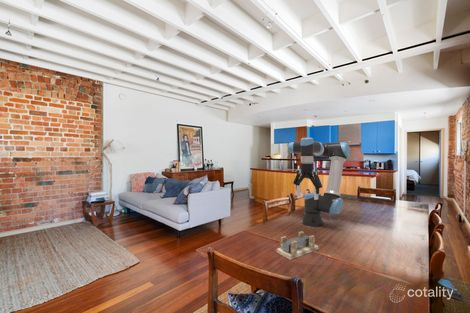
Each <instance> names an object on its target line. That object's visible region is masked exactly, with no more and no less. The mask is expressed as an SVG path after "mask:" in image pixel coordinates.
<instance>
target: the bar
mask: <svg viewBox="0 0 470 313" xmlns="http://www.w3.org/2000/svg"><path fill="white" fill-rule="evenodd" d="M309 236H310V235H307V234H304V235H303V236H300V237H298V236H296V237H294V238H291V239H287V241H284V242H282V250H283V251H285V252H287V253H291V242H292V241H297V250H299V249H302V248H305V247H308V246H309Z"/></svg>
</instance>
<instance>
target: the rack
mask: <svg viewBox="0 0 470 313" xmlns="http://www.w3.org/2000/svg"><path fill="white" fill-rule="evenodd" d="M297 233H298V236H297V237H300V236H303V235H305V232H304V231H302V230H301V231H298V232H297ZM308 236H309V246H308V247H305V248H302V249H299V250H297V241H292V242H291V253H287V252H285V251H283V250H282V242H284V241H287V240H288V239H287V236H286V235H284V236H281V237H280V247H279V248H276V253H277V254H279V255H280V256H282V257H284V258H286V259H288V260H289V261H292V260H293V259H296V258H299V257H302V256H305V255H308V254H310V253H312V252H315V251H317V250H319V246H318V245H317V244H316V243H315V242H316V241H315V239H316V238H315V235H313V234H312V235H308Z"/></svg>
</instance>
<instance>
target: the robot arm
mask: <svg viewBox="0 0 470 313" xmlns="http://www.w3.org/2000/svg"><path fill="white" fill-rule="evenodd" d="M287 151H288V152H289V153H290V154H300V169H298V170H297V171H296V175H295V178H294V179H293V182H292V183H293V185H295V191H296V196H297V197H299V196H301V183H302V181H303V180H304V179H308V180H310V182H311V183H312V185H313V186H314V188H313V190H314V191H313V192H308V193H305V195H304V199H303V200H304V201H303V202H304V213H303V217H302V219H301V222H302V224H303V225H306V226H307V227H308V226H310V227H321V226H323V225H324V220H323V218H322V214H321V212H322V213H327V214H331V215H339V214H340V213H341V212H342V210H343V206H344V200H343V198H341V197H342V196H341V194H340V190H341V189H340V188H341V182H342V175H343V169H344V163H345V162H346V161H347V159H349V158H350V156H351V147H350V145H349V143H348V142H343V141H339V142H324V143H322V142H320V141H315V140H314V138H313V137H301V139H300V141H292V142H289V143H288V145H287ZM314 156H317V157H323V158H329V160H330V161H331V162H330V166H329V174H328V180H327V184H326V191H324V192H323V195H322V194H321V193H320V189H321V188H323V184H322V181H321V179H320V177H319V173H318V172H319V171H314V162H315V161H314Z"/></svg>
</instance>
